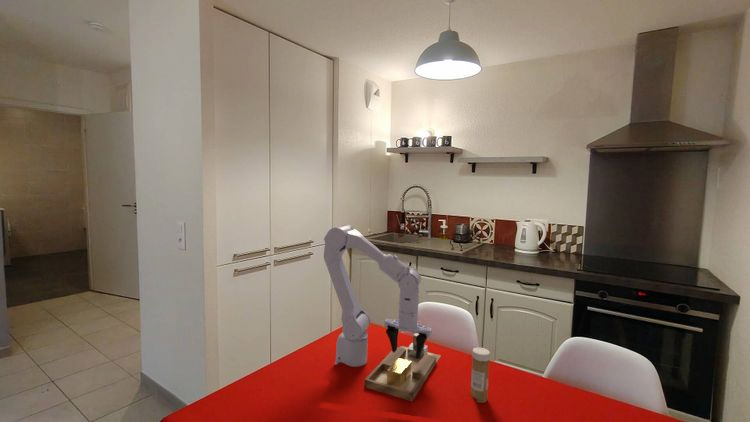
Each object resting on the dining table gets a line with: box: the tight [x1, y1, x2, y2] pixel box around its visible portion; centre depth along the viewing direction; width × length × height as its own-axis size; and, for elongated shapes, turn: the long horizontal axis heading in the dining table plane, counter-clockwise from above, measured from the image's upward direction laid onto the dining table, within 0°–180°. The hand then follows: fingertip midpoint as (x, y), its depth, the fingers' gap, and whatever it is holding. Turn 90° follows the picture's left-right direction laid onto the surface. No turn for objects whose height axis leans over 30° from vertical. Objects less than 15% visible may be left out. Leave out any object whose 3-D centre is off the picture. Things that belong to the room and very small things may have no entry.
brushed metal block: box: [407, 333, 429, 359], centre depth 118 cm, size 6×5×6 cm
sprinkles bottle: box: [470, 347, 491, 404], centre depth 96 cm, size 5×5×14 cm
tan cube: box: [394, 358, 411, 381], centre depth 105 cm, size 4×4×4 cm
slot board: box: [364, 345, 442, 402], centre depth 108 cm, size 14×28×3 cm, turn 155°
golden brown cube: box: [387, 364, 406, 388], centre depth 101 cm, size 4×4×4 cm
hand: (406, 354), depth 108 cm, fingers open, 7 cm apart
